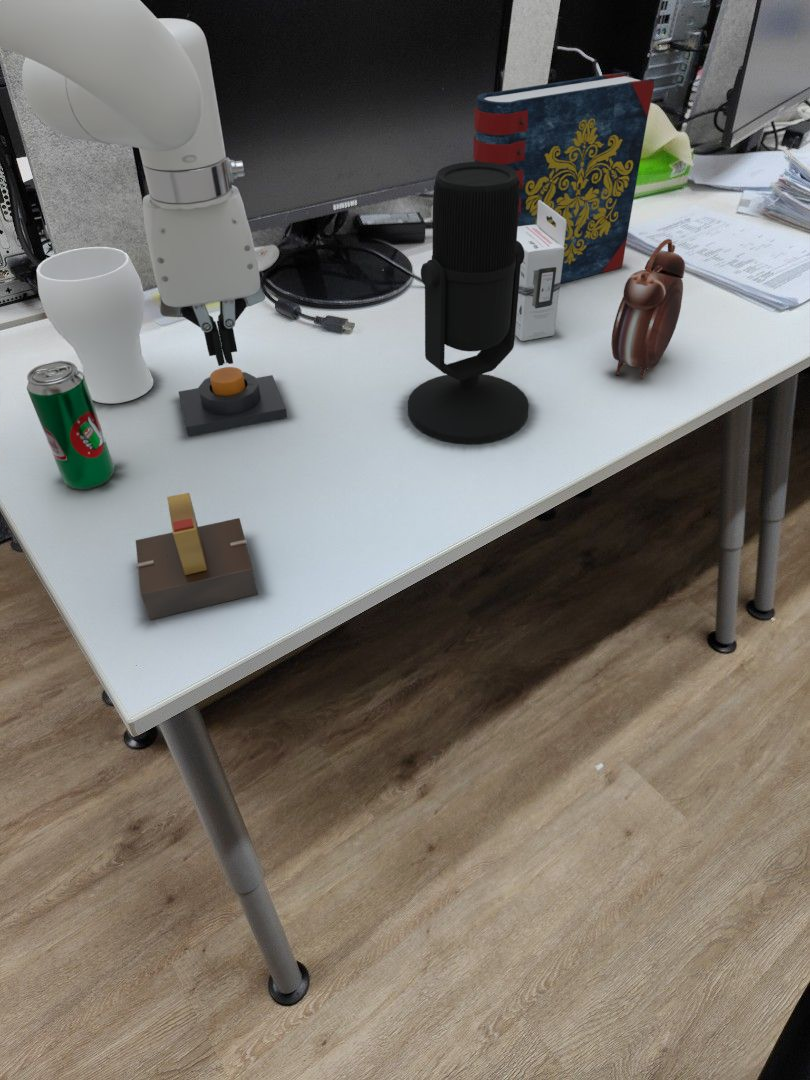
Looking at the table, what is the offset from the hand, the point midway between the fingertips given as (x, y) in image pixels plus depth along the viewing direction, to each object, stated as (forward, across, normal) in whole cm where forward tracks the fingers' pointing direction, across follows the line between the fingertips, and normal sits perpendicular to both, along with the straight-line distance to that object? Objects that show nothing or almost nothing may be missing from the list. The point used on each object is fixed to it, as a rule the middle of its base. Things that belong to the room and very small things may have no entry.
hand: (224, 358), depth 83 cm
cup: (+6, +12, -9) cm, 17 cm away
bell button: (+4, 0, 0) cm, 4 cm away
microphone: (+6, -25, +10) cm, 27 cm away
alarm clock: (+7, -48, +8) cm, 49 cm away
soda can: (+6, +16, +8) cm, 19 cm away
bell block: (+6, 0, 0) cm, 6 cm away
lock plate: (+6, +7, +27) cm, 29 cm away
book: (+7, -49, -20) cm, 53 cm away
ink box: (+7, -40, -7) cm, 41 cm away
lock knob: (+3, +7, +27) cm, 28 cm away
